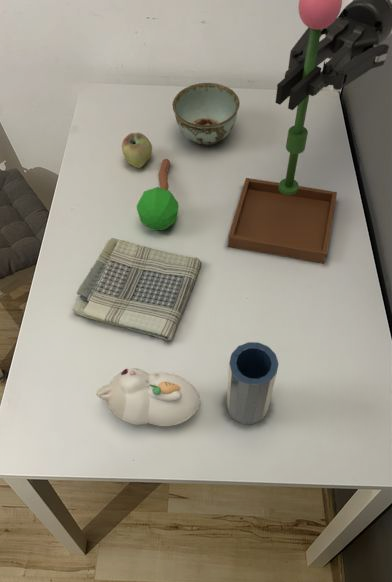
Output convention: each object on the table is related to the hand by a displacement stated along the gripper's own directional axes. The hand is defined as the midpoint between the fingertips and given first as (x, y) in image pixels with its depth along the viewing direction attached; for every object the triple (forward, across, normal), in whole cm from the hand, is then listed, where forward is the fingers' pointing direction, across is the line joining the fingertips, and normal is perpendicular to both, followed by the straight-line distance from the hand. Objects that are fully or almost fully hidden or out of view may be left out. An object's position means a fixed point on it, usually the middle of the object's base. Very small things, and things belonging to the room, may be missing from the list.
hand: (285, 97), depth 67 cm
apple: (-3, +34, -29) cm, 45 cm away
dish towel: (+23, +11, -29) cm, 38 cm away
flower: (-6, +1, -20) cm, 21 cm away
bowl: (-17, +27, -29) cm, 43 cm away
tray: (-5, 0, -29) cm, 29 cm away
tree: (+3, +22, -29) cm, 37 cm away
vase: (+29, -16, -29) cm, 44 cm away
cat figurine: (+38, -5, -29) cm, 48 cm away
